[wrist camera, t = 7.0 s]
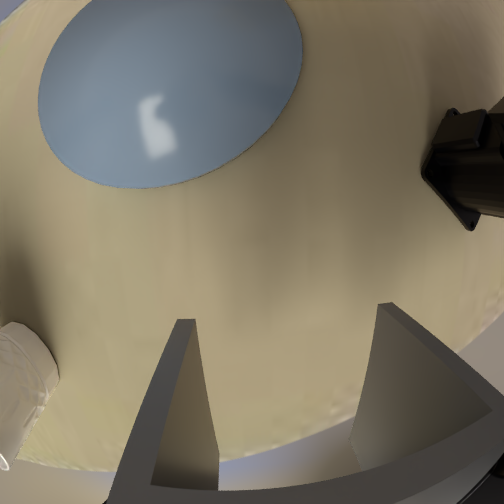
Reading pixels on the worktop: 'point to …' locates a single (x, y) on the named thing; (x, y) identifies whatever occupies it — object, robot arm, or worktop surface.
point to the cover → (361, 438)
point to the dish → (166, 86)
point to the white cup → (22, 387)
